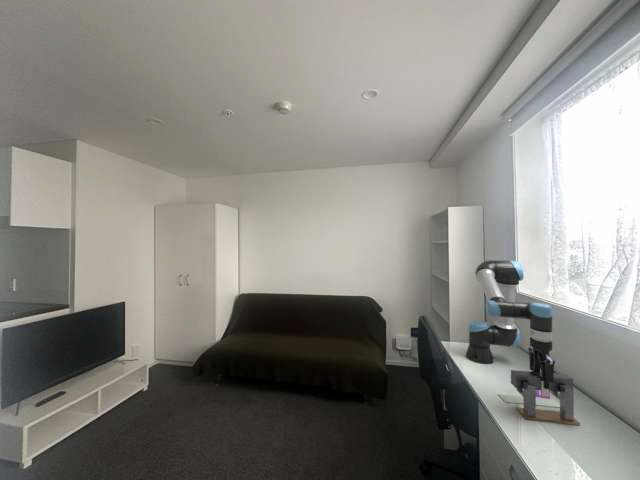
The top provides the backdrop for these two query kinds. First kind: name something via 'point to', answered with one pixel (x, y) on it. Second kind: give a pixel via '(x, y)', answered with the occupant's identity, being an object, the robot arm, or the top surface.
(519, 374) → the rail
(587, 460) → the top surface
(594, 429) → the top surface
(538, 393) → the bracket
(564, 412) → the hook rack
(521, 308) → the robot arm
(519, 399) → the mat
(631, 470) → the top surface
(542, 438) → the top surface
